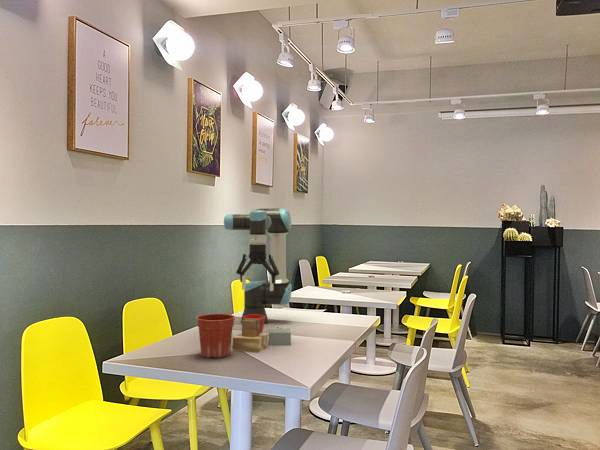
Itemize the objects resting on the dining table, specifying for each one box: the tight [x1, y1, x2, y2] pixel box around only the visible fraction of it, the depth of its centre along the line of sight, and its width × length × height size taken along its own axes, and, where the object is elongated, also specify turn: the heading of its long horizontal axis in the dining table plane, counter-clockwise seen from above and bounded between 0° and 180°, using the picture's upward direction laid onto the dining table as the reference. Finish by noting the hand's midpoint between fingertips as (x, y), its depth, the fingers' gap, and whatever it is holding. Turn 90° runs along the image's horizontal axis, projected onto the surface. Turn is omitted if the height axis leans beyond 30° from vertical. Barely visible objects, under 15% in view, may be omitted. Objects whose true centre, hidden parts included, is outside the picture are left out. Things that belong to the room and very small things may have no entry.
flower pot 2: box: [243, 314, 265, 333], centre depth 252 cm, size 11×11×10 cm
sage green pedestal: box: [268, 327, 292, 346], centre depth 236 cm, size 10×10×6 cm
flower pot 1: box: [195, 313, 236, 359], centre depth 214 cm, size 16×16×16 cm
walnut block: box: [241, 318, 260, 337], centre depth 226 cm, size 6×6×7 cm
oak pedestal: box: [232, 332, 269, 353], centre depth 225 cm, size 12×12×6 cm
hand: (257, 290), depth 232 cm, fingers open, 13 cm apart
